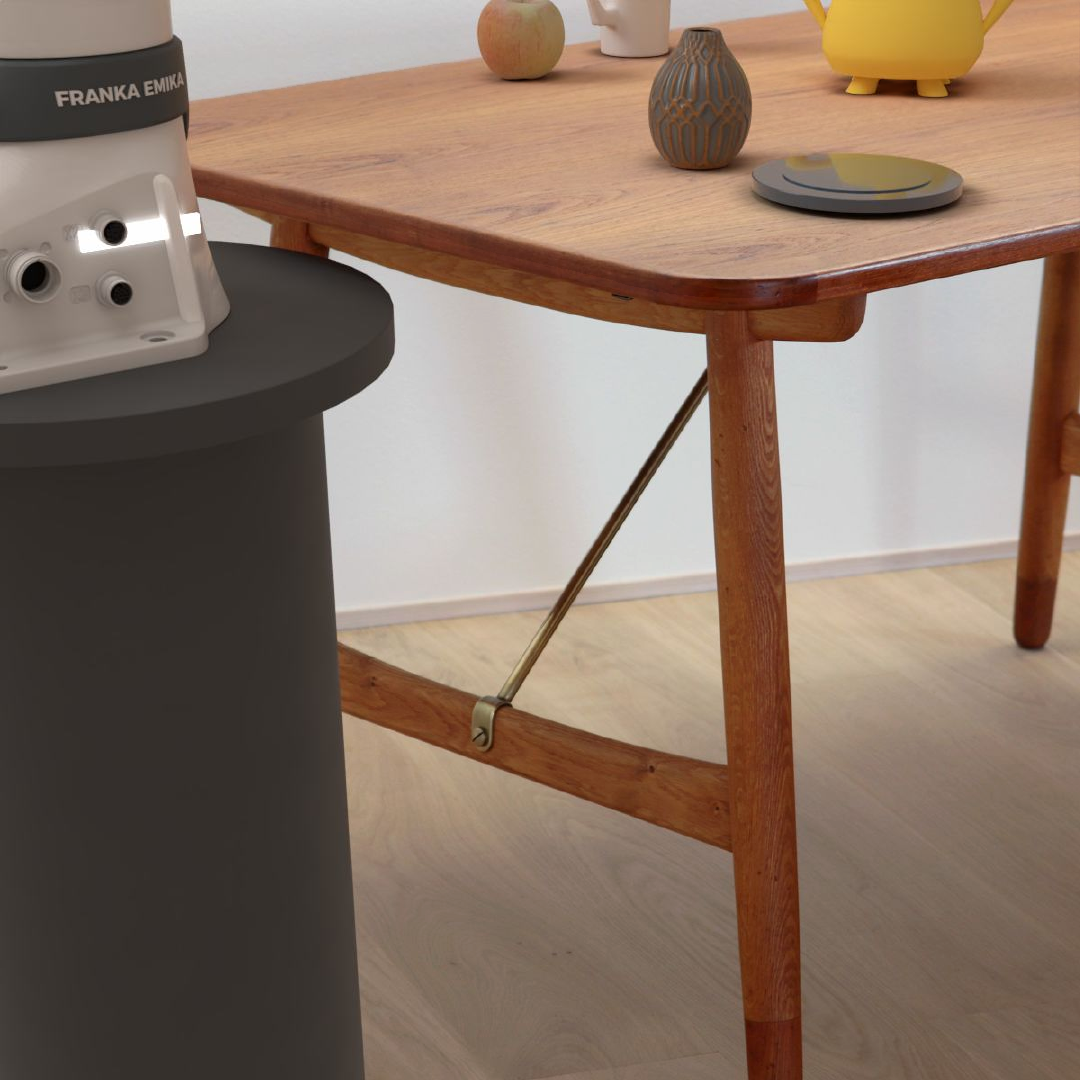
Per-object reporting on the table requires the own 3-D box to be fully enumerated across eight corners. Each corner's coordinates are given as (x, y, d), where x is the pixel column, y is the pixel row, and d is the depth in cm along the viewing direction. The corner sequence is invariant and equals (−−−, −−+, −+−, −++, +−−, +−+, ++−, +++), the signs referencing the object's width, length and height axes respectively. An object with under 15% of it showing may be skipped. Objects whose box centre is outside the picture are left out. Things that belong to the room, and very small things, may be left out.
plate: (880, 231, 100) (881, 209, 100) (708, 195, 109) (709, 174, 108) (1002, 193, 109) (1004, 172, 108) (834, 162, 117) (835, 143, 116)
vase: (655, 176, 114) (657, 38, 110) (640, 154, 120) (642, 23, 116) (759, 173, 114) (765, 36, 111) (738, 151, 120) (743, 21, 117)
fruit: (507, 67, 153) (506, -28, 150) (579, 74, 149) (579, -23, 146) (459, 80, 147) (456, -18, 144) (532, 88, 143) (531, -13, 140)
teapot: (1026, 90, 141) (1043, -63, 136) (895, 108, 134) (908, -52, 129) (907, 66, 152) (919, -77, 147) (780, 82, 145) (788, -67, 140)
